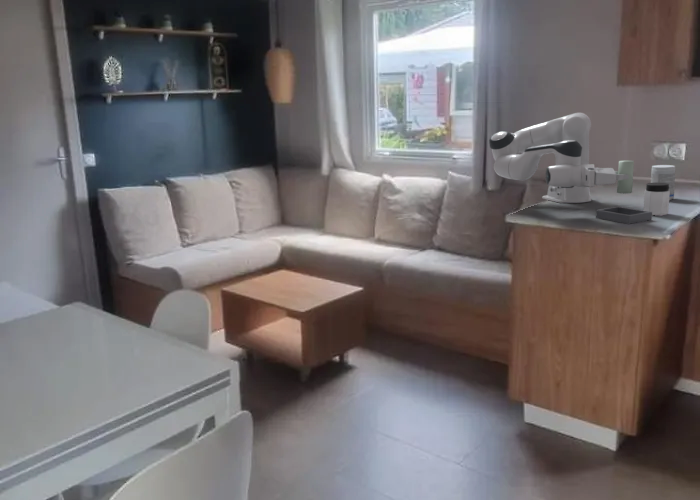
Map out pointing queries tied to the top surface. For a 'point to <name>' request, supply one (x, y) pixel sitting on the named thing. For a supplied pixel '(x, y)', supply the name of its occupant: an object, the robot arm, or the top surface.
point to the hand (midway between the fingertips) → (627, 175)
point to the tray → (623, 215)
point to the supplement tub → (664, 176)
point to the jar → (657, 198)
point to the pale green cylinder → (625, 184)
